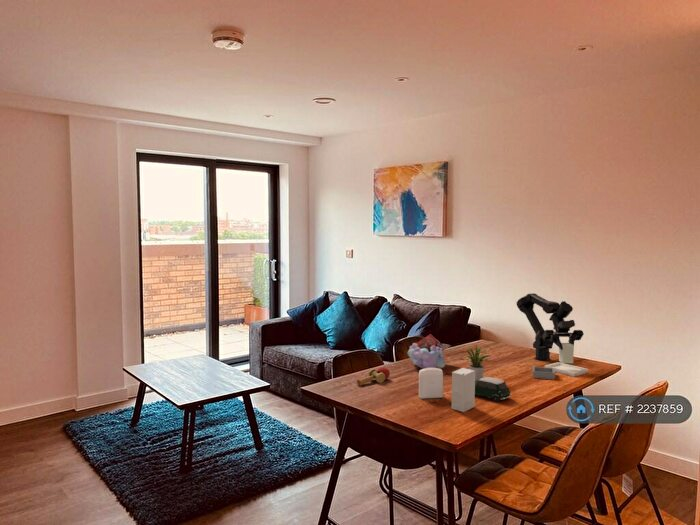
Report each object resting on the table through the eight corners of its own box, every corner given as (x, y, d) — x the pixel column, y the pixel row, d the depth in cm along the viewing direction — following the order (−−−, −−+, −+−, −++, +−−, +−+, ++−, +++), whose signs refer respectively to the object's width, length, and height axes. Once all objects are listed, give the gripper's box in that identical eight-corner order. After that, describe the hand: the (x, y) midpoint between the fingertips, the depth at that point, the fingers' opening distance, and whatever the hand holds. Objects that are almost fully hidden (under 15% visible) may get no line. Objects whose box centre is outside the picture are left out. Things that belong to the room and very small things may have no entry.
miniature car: (474, 389, 221) (474, 371, 221) (512, 399, 209) (513, 380, 208) (463, 394, 215) (463, 375, 215) (501, 404, 202) (502, 384, 202)
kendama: (366, 391, 223) (395, 378, 235) (363, 377, 223) (392, 364, 235) (355, 390, 229) (383, 377, 241) (352, 376, 229) (380, 364, 241)
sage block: (558, 360, 254) (559, 342, 253) (568, 360, 254) (569, 342, 253) (563, 363, 249) (563, 345, 248) (573, 363, 249) (573, 345, 248)
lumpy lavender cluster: (407, 363, 247) (426, 332, 247) (397, 351, 268) (415, 323, 268) (441, 383, 250) (460, 352, 250) (429, 370, 272) (446, 341, 271)
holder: (532, 372, 249) (532, 366, 249) (553, 374, 246) (553, 368, 246) (532, 377, 240) (532, 371, 240) (554, 379, 237) (554, 373, 236)
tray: (544, 369, 255) (544, 365, 255) (558, 366, 262) (558, 362, 261) (573, 376, 242) (574, 372, 241) (587, 372, 248) (588, 368, 248)
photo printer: (419, 399, 208) (420, 369, 207) (417, 396, 212) (417, 366, 212) (444, 398, 209) (444, 369, 208) (441, 395, 213) (441, 366, 213)
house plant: (473, 385, 227) (474, 349, 226) (453, 378, 239) (454, 343, 238) (497, 381, 233) (498, 346, 232) (476, 374, 246) (477, 340, 245)
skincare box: (461, 404, 202) (462, 367, 201) (475, 407, 198) (476, 370, 197) (450, 409, 196) (451, 371, 195) (464, 412, 192) (464, 374, 191)
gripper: (545, 313, 254) (553, 340, 244) (582, 314, 254) (592, 340, 244) (539, 326, 262) (546, 352, 252) (575, 326, 262) (584, 352, 252)
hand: (567, 349), depth 250 cm, fingers closed on sage block, 5 cm apart
